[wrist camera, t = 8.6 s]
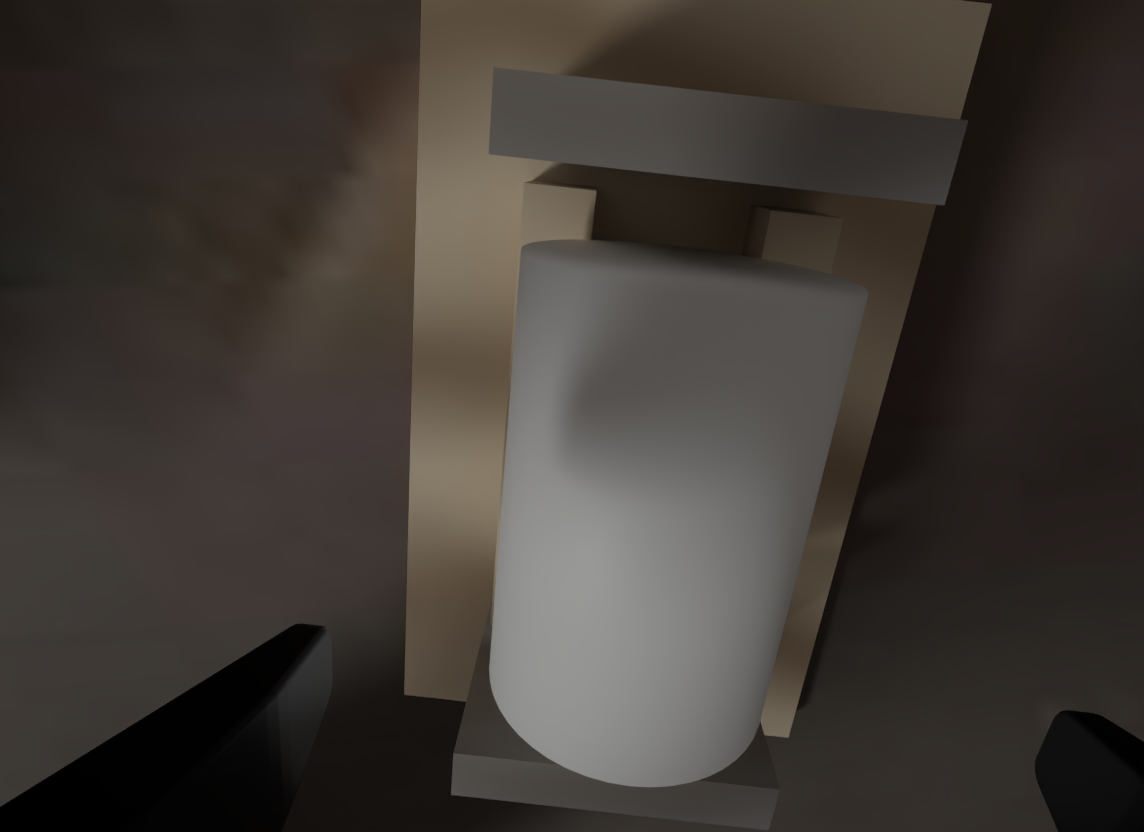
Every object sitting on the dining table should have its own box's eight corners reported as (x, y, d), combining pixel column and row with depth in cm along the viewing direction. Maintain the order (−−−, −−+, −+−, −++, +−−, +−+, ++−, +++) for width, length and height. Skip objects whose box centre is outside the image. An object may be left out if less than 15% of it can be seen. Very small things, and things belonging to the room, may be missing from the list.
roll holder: (781, 718, 22) (850, 929, 16) (410, 676, 22) (339, 871, 16) (973, 11, 15) (1220, -88, 9) (431, -50, 15) (319, -189, 9)
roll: (734, 606, 18) (792, 805, 13) (508, 580, 18) (465, 766, 13) (811, 261, 15) (933, 320, 9) (537, 230, 15) (496, 272, 9)
